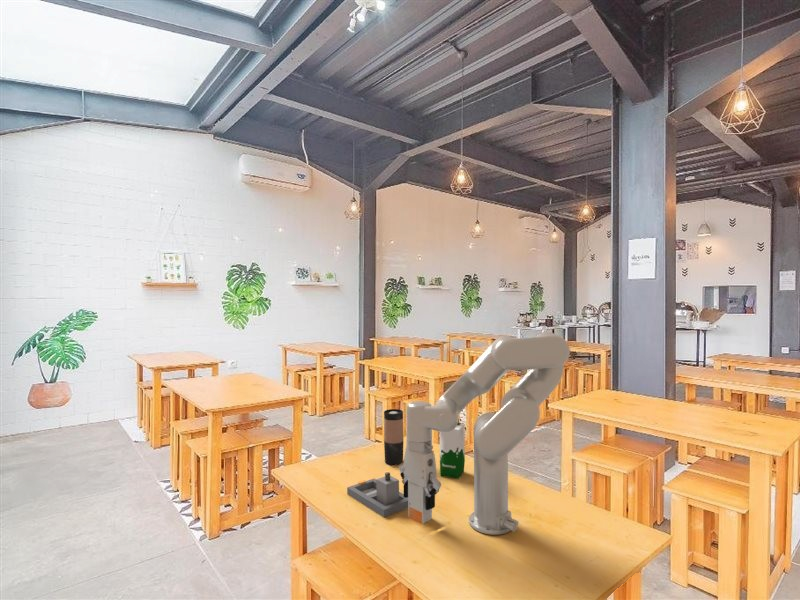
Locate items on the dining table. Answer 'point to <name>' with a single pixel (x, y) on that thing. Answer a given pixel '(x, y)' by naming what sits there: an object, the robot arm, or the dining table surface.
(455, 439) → the milk carton
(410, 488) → the skincare box
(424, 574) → the dining table surface
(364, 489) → the pdu strip
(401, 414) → the travel mug
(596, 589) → the dining table surface
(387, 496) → the single plug
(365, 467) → the dining table surface
